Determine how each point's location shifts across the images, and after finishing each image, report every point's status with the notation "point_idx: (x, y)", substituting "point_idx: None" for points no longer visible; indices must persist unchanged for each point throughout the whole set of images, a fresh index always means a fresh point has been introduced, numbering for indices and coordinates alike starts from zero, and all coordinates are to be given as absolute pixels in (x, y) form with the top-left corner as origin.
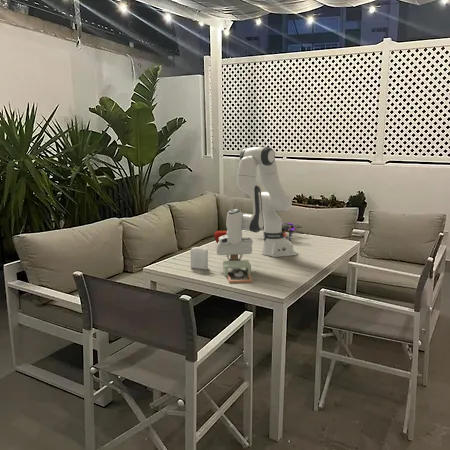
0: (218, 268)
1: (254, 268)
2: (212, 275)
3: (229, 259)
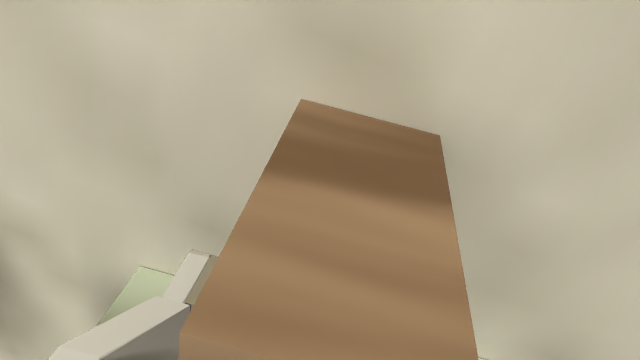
0: (70, 135)
1: (634, 349)
2: (9, 333)
3: None
